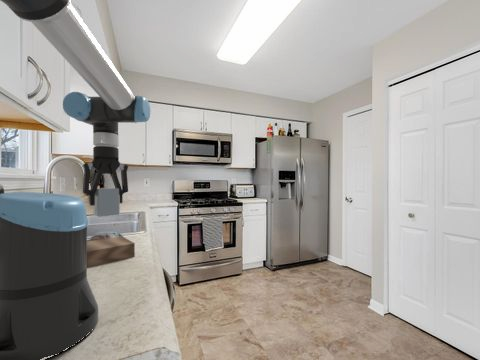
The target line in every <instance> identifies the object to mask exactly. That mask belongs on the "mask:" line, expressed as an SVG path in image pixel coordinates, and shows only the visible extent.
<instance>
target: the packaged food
mask: <svg viewBox="0 0 480 360" xmlns="http://www.w3.org/2000/svg"><path fill="white" fill-rule="evenodd" d="M121 236H123V237H124V235H123V234H122V233H120V232H118V231H115V230H114V231H112V230H110V231H108V230H106V231H98V232H96V233H95V234H93V235H92V236H91V237H90V238H87V242H89V241H95V240H102V239H108V238H115V237H121Z"/></svg>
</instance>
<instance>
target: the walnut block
mask: <svg viewBox="0 0 480 360" xmlns="http://www.w3.org/2000/svg"><path fill="white" fill-rule="evenodd" d="M135 246H136V245H135V242H134V241H132V240H129V239H128V238H127V237H124V235H123V236H121V237H115V238H108V239H102V240H95V241H89V242H87V268H90V267H94V266H98V265H103V264H107V263H113V262H116V261H122V260H126V259H130V258H135V255H136V254H135V252H136V251H135Z"/></svg>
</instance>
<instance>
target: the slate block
mask: <svg viewBox="0 0 480 360" xmlns="http://www.w3.org/2000/svg"><path fill="white" fill-rule="evenodd" d="M95 195H96V196H98V215H97V216H96V217H109V216H118V215H120V213H119V189H118V188H115V187H113V188H112V187H110V188H109V187H107V188H106V187H105V188H104V187H103V188H97V190H96V193H95Z"/></svg>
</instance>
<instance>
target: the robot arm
mask: <svg viewBox="0 0 480 360" xmlns="http://www.w3.org/2000/svg"><path fill="white" fill-rule="evenodd" d="M0 1H1V2H2V3H4V4H5V5H6V6H7V7H8V8H9V10H11V11H12V12H13V13H14V15H16V16H17V17H18V18H19V19H20V20H23V21H26V22H30V23H31V24H33V26H34V27H35V28H36V29H37V30H38V31H39V32H40V33H41V34H42V36H43V37H45V39H46V40H47V41H48V42H49V43H50V44H51V45H52V46H53V47H54V48H55V50H56V51H57V52H58V53H59V54H60V55H61V56H62V57H63V58H64V59H65V60H66V61H67V63H69V65H70V66H71V68H73V69H74V71H76V73H77V74H78V75H79V76H80V77H81V78H82V79H83V80H84V81H85V82H86V83H87V84H88V86H89V87H91V89H92V90H93V91H94V92H95V93H96V94H97V95H98V96H88V95H87V94H86V93H82V92H79V91H72V92H69V93H67V94H66V95H65V96H64V98H63V100H62V109H63V111H64V113H65V115H67V116H69V117H71V118H72V119H74V120H76V121H78V122H83V123H85V124H88V125H90V126H92V129H93V130H92V131H93V132H92V134H93V136H92V139H93V141H92V145H94V146H93V148H92V149H93V150H92V153H93V154H92V156H93V160H92V161H91V162H89V163H83V164H82V165H81V166H82V169H83V180H82V181H83V184H82V194H84V195H87V196H89V197H88V198H89V200H88V201H89V205H90V206H92V215H93V216H96V217H98V216H97V215H98V196H96V195H95V193H96V190H97V189H98V187H99V185H100V181H101V178H102V176H103V175H104V174H107V175H110V177H111V180H112V182H113V186H114V188H118V189H119V214H120V213H121V211H120V210H121V208H120V207H121V206H120V204H123V200H124V199H123V195H124V194H125V193H128V192H129V186H128V185H129V184H128V183H129V182H128V169H129V166H128V165H127V164H122V163H121V161H119V159H120V158H119V148H118V147H119V144H120V143H119V123H127V124H128V123H131V124H133V123H134V124H136V123H147V122H149V119H150V117H151V106H150V105H151V104H150V103H149V101H148V99H147V98H146V97H144V96H143V95H142V96H139V95H135V94H134V93H133V91H132V90H131V89H130V87H129V86H128V84H127V83H126V81H125V80H124V79H123V77H122V75H121V74H120V73H119V71H118V70H117V69H116V67H115V65H114V63H113V62H112V61H111V60H110V58H109V56H108V55H107V54H106V52H105V51H104V49H103V48H102V46H101V44H100V43H99V42H98V40H97V39H96V37H95V36H94V35H93V33H92V31H91V30H90V28H89V27H88V25H87V24H86V23H85V21H84V19H83V18H82V16H81V15H80V13H79V12H78V11H77V9H76V8H75V7H74V5H73V3H72V2H71V0H0ZM92 167H93V169H95V170H96V172H95V176H94V179H93V181H92V183H91V187H90V178H91V177H90V176H91V169H92ZM118 168H119V171H120V175H121V177H120V179H121V180H119V177H118V174H117V170H118ZM120 181H121V183H120ZM4 188H5V187H4V185H2V184H0V360H40V359H42V358H44V357H48V356H51V355H55V354H58V353H60V352H62V351H63V350H65V349H66V348H68V347H70V346H72V345H74V344H75V343H76V342H78V341H79V340H81V339H82V338H83V337H85V336H86V335H87V334H88V333H89V332H91V331H92V329H94V330H95V328H96V327H97V325H98V322H99V304H98V303H97V300H96V298H95V295H94V292H93V290H92V288H91V286H90V284H89V280H88V278H87V277H88V276H87V275H88V273H87V271H88V270H87V268H88V267H87V240H88V225H89V219H88V215H87V205H86V203H85V202H84V201H83V200H82V199H81V198H80V197H77V196H73V195H69V194H63V193H61V194H60V193H52V192H51V193H50V192H45V193H44V192H30V191H24V192H23V191H20V192H19V191H18V192H5V189H4ZM95 326H96V327H95ZM94 327H95V328H94ZM92 332H93V331H92ZM92 332H91V333H92ZM74 346H75V345H74ZM62 353H63V352H62ZM60 354H61V353H60ZM58 355H59V354H58Z"/></svg>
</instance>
